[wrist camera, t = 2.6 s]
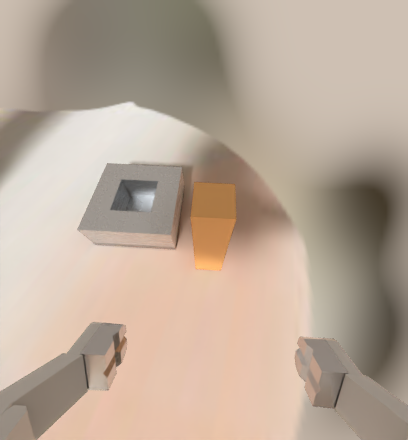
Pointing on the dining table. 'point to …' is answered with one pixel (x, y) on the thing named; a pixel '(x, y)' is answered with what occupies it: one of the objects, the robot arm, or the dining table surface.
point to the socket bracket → (135, 207)
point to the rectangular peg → (212, 223)
